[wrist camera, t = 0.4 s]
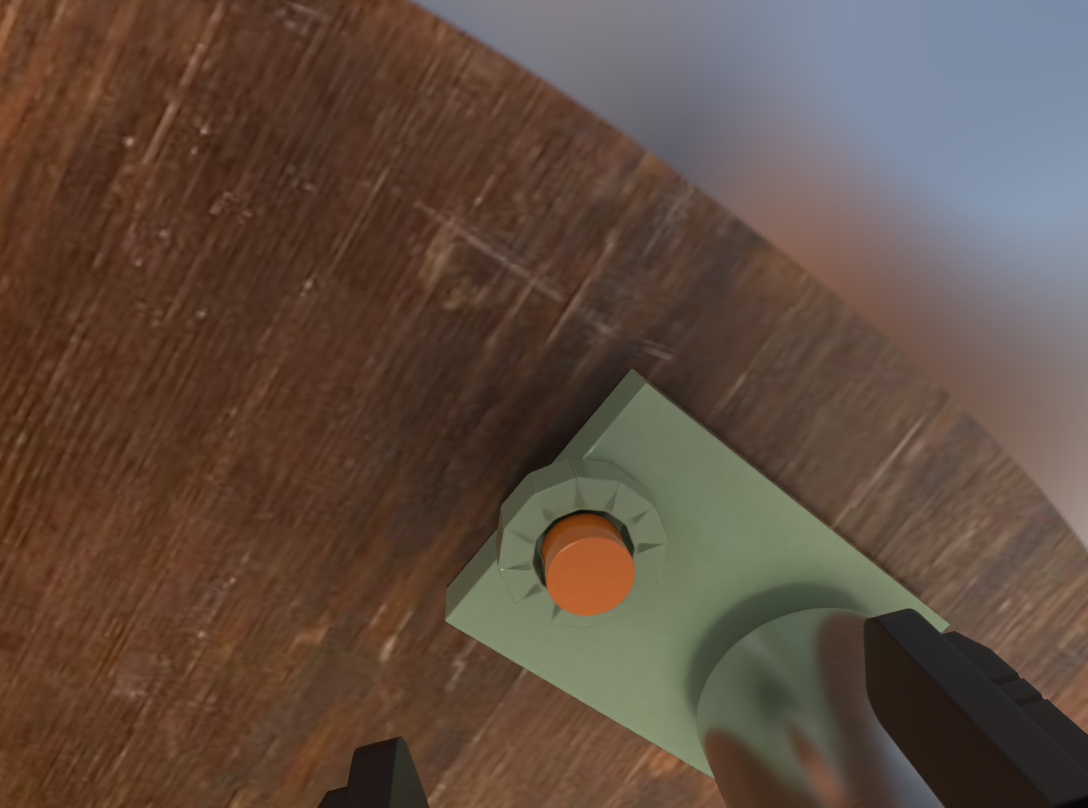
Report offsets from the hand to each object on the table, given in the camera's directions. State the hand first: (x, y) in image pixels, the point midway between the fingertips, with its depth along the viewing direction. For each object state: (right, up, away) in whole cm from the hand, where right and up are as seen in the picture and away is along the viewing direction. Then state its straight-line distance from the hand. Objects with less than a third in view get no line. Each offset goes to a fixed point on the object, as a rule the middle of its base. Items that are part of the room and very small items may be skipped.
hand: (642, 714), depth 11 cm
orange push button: (0, 0, +12) cm, 12 cm away
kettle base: (+5, -3, +18) cm, 19 cm away
